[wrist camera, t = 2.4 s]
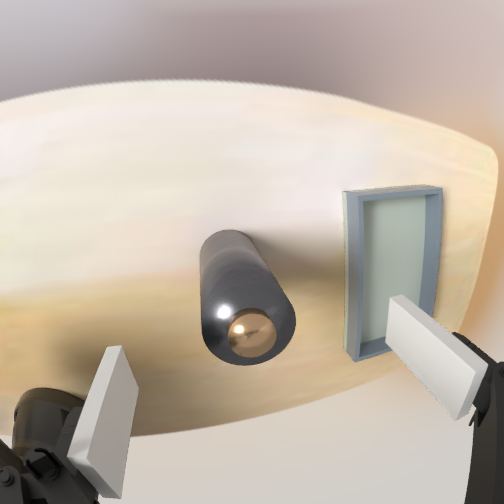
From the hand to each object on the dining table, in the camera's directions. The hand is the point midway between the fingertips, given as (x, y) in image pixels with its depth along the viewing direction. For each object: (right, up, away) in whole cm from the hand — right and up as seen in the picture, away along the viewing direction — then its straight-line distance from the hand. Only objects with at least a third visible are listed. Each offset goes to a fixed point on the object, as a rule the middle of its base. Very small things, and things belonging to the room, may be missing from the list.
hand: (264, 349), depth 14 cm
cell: (-3, +4, +13) cm, 14 cm away
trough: (+13, +3, +17) cm, 22 cm away
